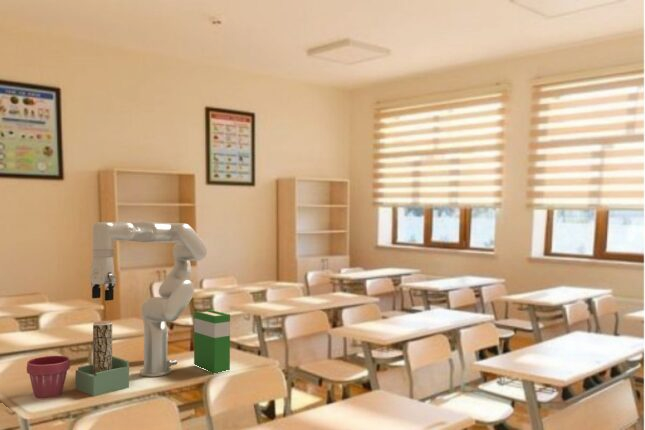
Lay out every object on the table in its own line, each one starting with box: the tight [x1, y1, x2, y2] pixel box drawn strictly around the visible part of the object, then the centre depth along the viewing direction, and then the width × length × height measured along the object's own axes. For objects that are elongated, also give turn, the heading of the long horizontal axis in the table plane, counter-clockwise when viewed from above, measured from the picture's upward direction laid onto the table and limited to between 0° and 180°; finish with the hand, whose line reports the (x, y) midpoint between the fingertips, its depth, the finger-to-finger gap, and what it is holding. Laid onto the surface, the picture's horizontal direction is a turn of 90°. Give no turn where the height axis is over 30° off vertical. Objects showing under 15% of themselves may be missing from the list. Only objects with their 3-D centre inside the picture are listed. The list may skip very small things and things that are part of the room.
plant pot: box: [26, 355, 71, 400], centre depth 197 cm, size 14×14×13 cm
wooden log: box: [92, 320, 113, 376], centre depth 205 cm, size 7×7×25 cm
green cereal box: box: [193, 309, 231, 374], centre depth 234 cm, size 18×7×24 cm, turn 42°
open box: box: [74, 355, 130, 397], centre depth 205 cm, size 14×14×10 cm
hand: (102, 299), depth 205 cm, fingers open, 9 cm apart
